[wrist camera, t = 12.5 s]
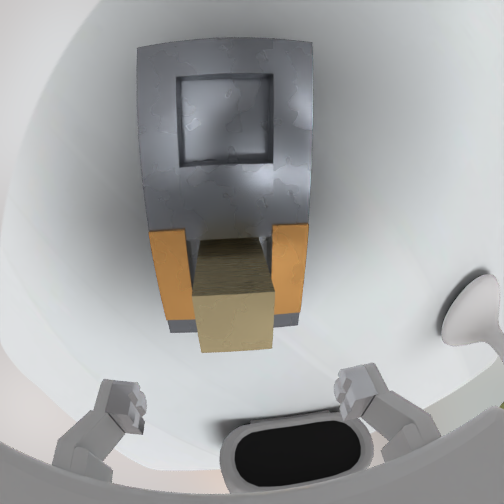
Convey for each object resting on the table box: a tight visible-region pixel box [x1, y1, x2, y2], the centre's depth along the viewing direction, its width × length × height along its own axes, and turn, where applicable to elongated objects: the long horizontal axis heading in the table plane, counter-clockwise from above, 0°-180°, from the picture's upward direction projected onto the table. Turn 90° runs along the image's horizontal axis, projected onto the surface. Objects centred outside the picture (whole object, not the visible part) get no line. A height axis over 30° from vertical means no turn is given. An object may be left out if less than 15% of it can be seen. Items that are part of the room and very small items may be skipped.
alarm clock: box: [220, 410, 374, 494], centre depth 29 cm, size 21×10×13 cm, turn 89°
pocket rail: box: [137, 38, 313, 333], centre depth 17 cm, size 20×10×3 cm, turn 0°
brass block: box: [192, 237, 275, 353], centre depth 17 cm, size 4×4×7 cm
